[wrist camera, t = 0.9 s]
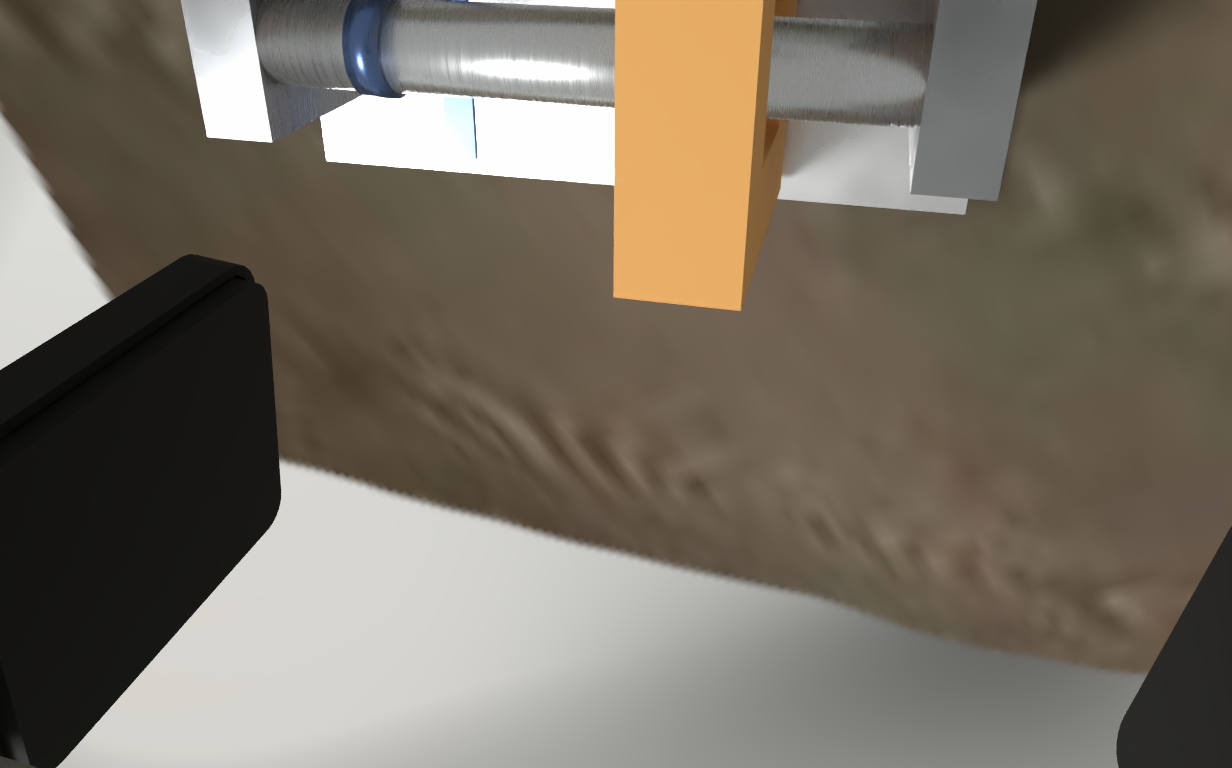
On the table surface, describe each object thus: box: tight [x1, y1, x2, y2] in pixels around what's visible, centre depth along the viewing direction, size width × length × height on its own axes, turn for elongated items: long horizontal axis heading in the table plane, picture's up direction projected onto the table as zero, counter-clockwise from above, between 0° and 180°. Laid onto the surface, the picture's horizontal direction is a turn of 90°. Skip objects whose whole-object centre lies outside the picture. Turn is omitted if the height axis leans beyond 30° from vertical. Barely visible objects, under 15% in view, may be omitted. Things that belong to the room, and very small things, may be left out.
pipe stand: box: [181, 0, 1037, 215], centre depth 28 cm, size 21×10×8 cm, turn 90°
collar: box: [614, 0, 797, 311], centre depth 25 cm, size 3×9×9 cm, turn 179°
